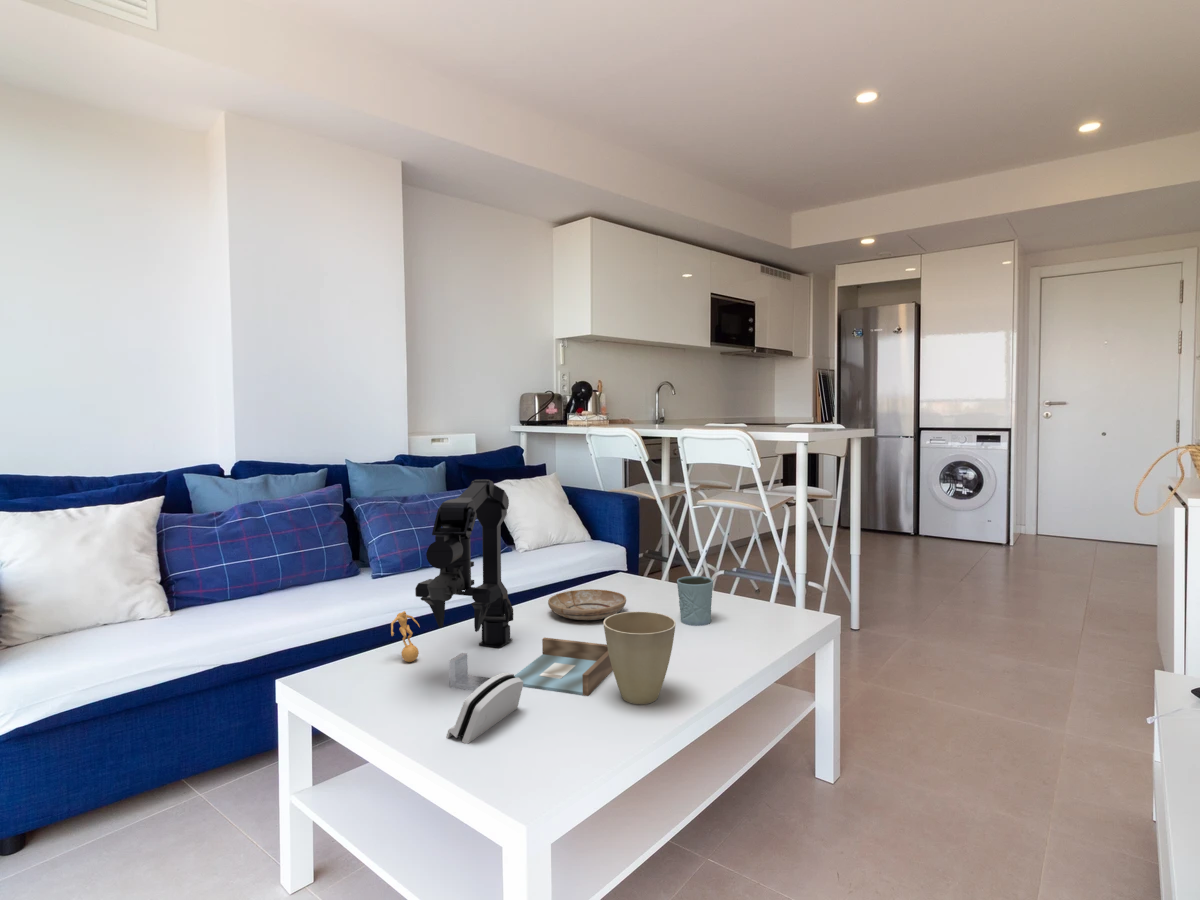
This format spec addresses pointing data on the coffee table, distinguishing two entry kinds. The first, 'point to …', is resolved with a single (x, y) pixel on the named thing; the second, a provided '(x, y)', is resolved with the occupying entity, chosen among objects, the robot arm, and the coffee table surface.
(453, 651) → the coffee table surface
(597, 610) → the ceramic bowl
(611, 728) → the coffee table surface
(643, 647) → the plant pot
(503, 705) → the grey arched casing
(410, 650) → the figurine
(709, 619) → the embossed green cup
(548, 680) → the corner arena
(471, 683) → the aluminium bracket
